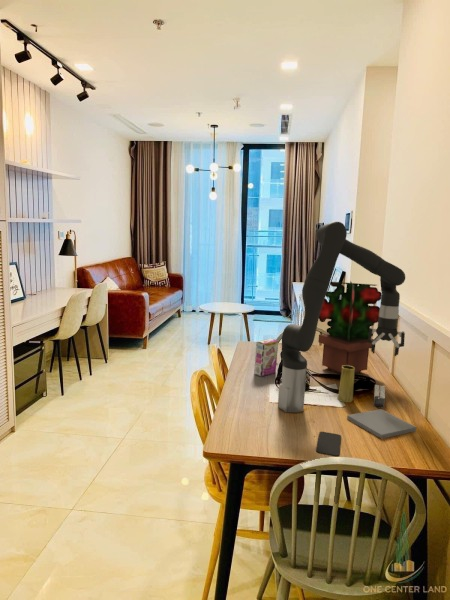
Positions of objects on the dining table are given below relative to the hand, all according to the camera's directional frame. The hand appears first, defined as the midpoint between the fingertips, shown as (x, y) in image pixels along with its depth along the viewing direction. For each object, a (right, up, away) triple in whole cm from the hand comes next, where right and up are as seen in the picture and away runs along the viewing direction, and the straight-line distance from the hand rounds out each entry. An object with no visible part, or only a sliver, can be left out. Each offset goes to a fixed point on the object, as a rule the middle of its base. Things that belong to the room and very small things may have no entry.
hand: (384, 354), depth 184 cm
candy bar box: (-47, -13, +31) cm, 57 cm away
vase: (-16, -19, +2) cm, 25 cm away
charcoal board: (-9, -23, -21) cm, 33 cm away
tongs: (-1, -20, +3) cm, 20 cm away
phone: (-32, -26, -38) cm, 56 cm away
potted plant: (-6, -14, +41) cm, 43 cm away
